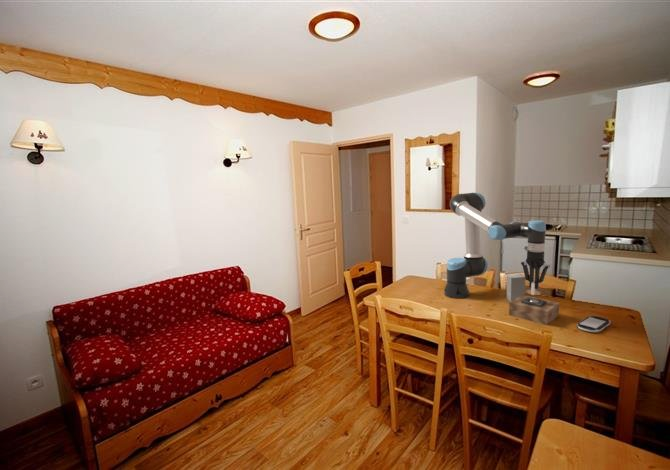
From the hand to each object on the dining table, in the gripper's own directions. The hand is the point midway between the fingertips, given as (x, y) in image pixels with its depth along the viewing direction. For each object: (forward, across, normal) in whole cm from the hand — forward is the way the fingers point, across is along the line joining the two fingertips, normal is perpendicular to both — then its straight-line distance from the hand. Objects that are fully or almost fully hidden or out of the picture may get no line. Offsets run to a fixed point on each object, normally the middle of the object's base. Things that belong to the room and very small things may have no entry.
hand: (533, 294), depth 167 cm
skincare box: (+12, -15, +15) cm, 24 cm away
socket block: (+12, +1, 0) cm, 12 cm away
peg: (+11, +1, 0) cm, 11 cm away
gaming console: (+12, +25, +5) cm, 28 cm away
